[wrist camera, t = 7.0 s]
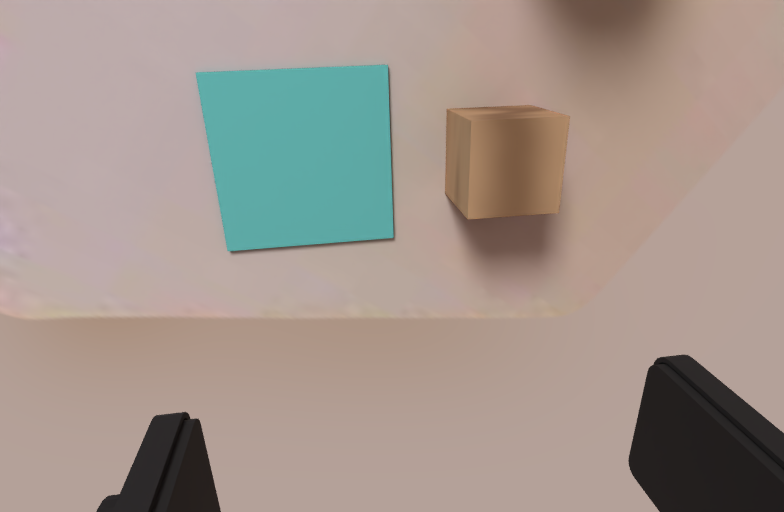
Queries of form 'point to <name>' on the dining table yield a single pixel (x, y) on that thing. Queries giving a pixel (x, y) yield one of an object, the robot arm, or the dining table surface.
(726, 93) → the dining table surface
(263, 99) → the teal mat
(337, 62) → the dining table surface
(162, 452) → the robot arm
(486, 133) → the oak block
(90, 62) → the dining table surface
